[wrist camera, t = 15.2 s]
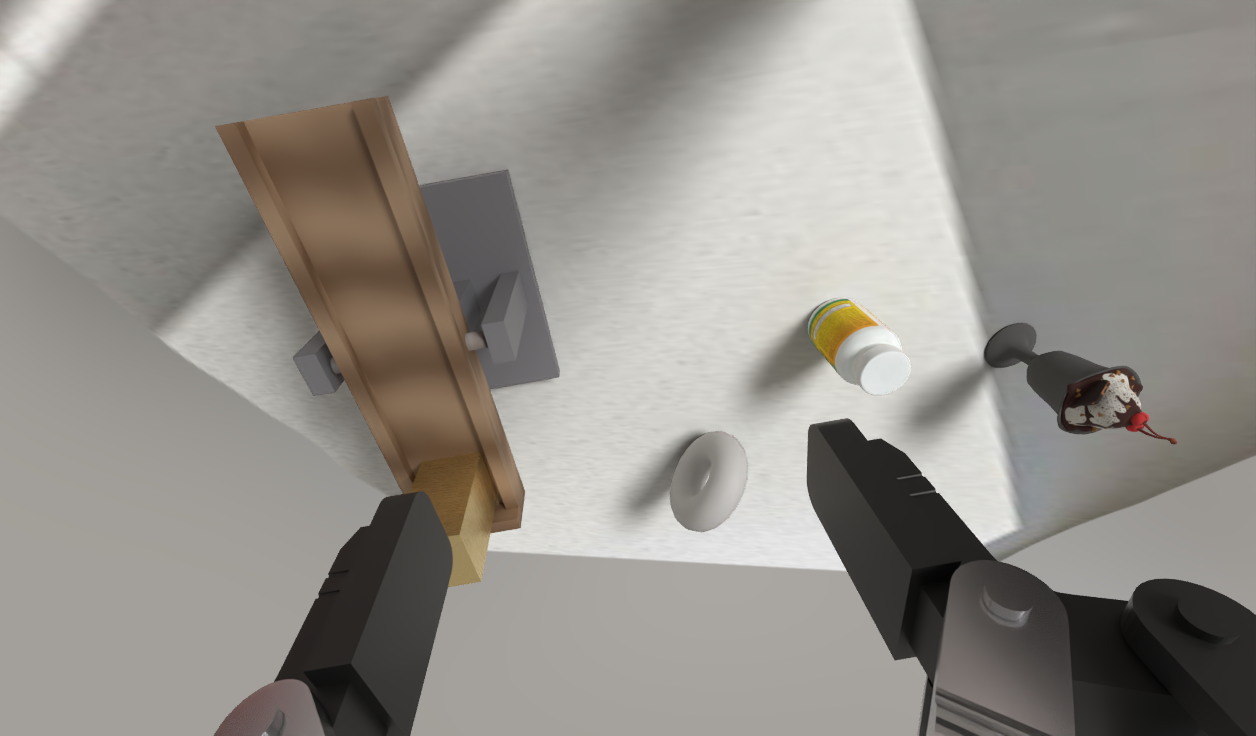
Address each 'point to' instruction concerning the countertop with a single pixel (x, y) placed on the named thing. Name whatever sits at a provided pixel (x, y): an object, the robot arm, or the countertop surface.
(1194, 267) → the countertop surface
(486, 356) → the pivot stand
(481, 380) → the beam
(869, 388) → the supplement bottle
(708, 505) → the donut
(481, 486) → the rider
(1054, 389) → the sundae
